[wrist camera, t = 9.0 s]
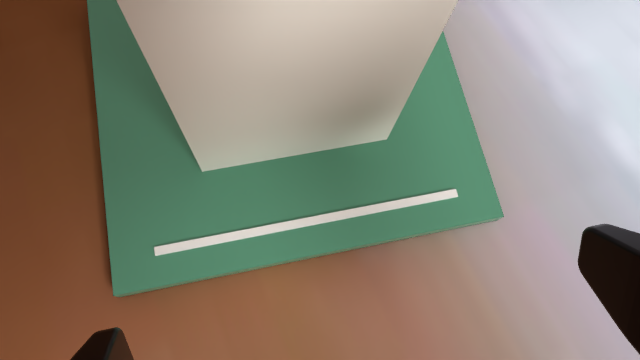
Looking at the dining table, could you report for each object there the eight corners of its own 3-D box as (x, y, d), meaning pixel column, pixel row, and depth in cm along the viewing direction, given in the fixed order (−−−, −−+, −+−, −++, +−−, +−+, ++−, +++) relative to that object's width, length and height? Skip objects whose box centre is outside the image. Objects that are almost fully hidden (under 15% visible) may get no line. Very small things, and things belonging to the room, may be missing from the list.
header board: (497, 220, 19) (544, 194, 15) (119, 297, 17) (77, 287, 14) (414, -36, 22) (437, -105, 19) (92, 6, 20) (53, -61, 17)
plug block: (386, 139, 19) (494, -70, 9) (202, 171, 18) (104, -23, 8) (360, 40, 20) (430, -236, 10) (186, 66, 19) (86, -210, 9)
